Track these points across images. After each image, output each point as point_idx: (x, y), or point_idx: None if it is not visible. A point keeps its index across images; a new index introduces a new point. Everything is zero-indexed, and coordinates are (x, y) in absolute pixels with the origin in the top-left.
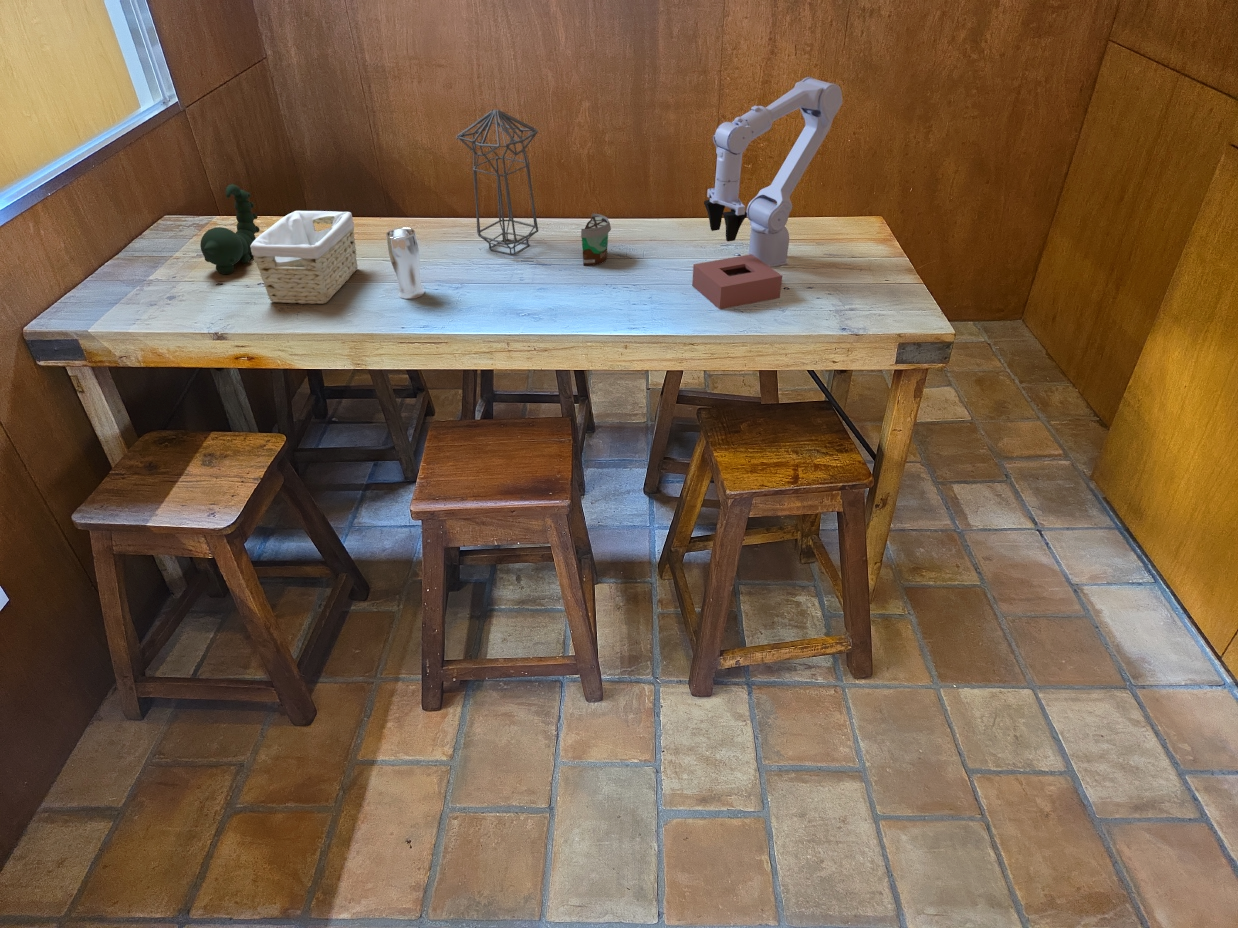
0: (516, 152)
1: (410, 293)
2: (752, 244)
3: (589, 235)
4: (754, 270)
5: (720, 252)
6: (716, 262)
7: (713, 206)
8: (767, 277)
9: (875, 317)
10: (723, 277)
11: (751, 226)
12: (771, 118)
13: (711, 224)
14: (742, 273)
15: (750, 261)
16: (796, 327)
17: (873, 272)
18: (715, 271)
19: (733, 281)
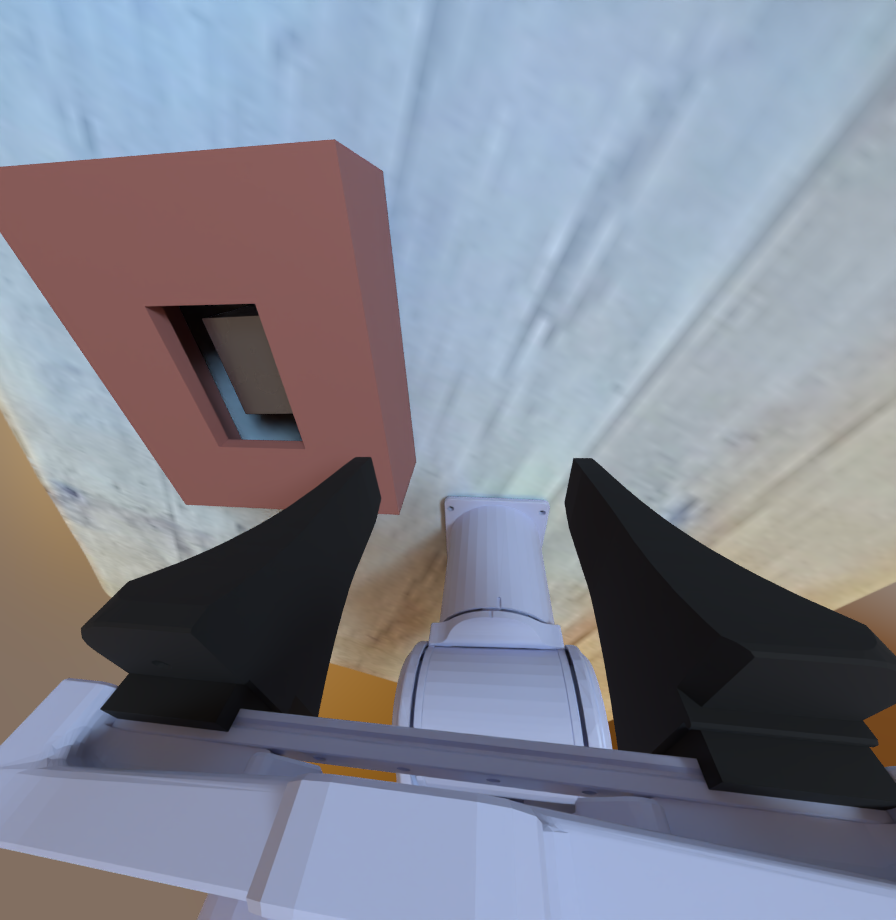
0: None
1: None
2: (492, 556)
3: None
4: (231, 448)
5: (644, 472)
6: (338, 330)
7: (661, 650)
8: (162, 457)
9: (151, 561)
10: (122, 264)
11: (525, 622)
12: None
13: (590, 483)
14: (286, 412)
15: (326, 478)
16: (39, 401)
17: (359, 645)
18: (206, 256)
19: (77, 295)
